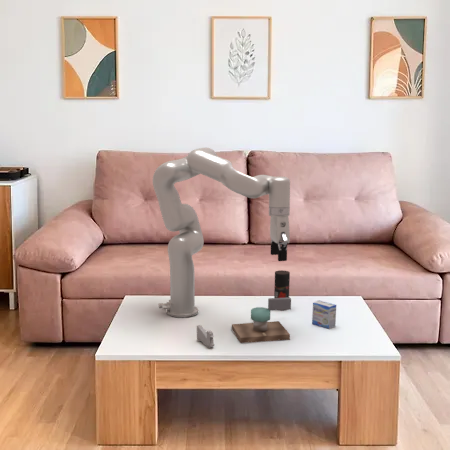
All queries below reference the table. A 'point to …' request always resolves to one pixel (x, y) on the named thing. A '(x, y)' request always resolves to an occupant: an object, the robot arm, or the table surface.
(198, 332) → the grey flat irregular piece
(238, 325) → the base
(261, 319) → the lock handle
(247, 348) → the table surface
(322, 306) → the medicine box
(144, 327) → the table surface
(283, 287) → the deodorant
